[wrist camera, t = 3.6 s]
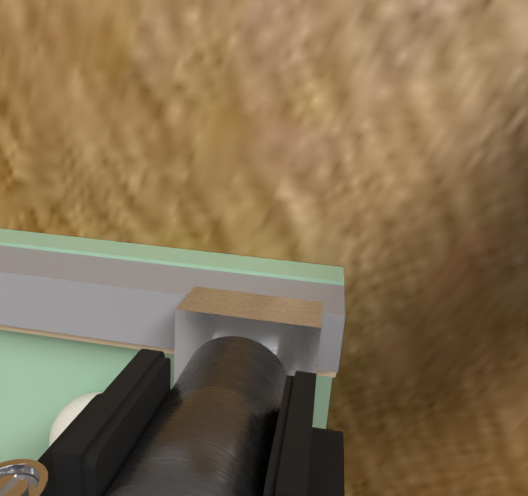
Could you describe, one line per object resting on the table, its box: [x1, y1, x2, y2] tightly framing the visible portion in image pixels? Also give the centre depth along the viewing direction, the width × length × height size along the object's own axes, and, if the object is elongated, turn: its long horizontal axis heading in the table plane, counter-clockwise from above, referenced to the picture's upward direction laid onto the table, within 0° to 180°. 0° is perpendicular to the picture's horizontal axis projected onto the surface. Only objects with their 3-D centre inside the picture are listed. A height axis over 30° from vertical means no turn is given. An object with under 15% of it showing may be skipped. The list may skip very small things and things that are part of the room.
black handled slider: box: [105, 286, 323, 496], centre depth 13 cm, size 4×10×13 cm, turn 176°
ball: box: [49, 392, 103, 447], centre depth 20 cm, size 4×4×4 cm
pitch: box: [0, 228, 345, 463], centre depth 21 cm, size 30×14×6 cm, turn 86°
